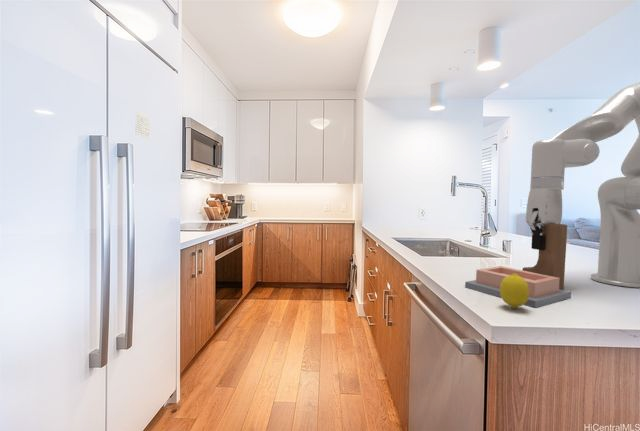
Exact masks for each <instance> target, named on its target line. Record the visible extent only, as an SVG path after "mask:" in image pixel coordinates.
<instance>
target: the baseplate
mask: <svg viewBox="0 0 640 431" xmlns="http://www.w3.org/2000/svg"><path fill="white" fill-rule="evenodd" d="M475 272H476V274H475V277H476V278H475V279H473V280H468V281H465V284H464V286H465V288H468V289H470V290H473V291H477V292H481V293H484V294H487V295H491V296H495V297H497V298H501V299H502V297H501V295H500V285H501V282H502V280H503V279H504V278H505V277H506V276H509V275H512V274H517V275H518V276H520V277H522V278H523V279H524V280H525V281H526V282H527V284H528V288H529V298H528V300H527V302H526V303H525V304H524V305H525V306H528V307H532V308H539V307H542V306H546V305H550V304H555V303H557V302H561V301H564V300H567V299H571V298H572V297H571V296H572V291H569V290H568V291H567V290H565V289H563V290H560V289H559V280H560V278H557V277H552V276H547V275H542V274H538V273H533V272H528V271H523V269H516V268H511V267H507V266H502V265H499V266H492V267H491V266H490V267H486V268H480V269H479V268H478V269H476V271H475Z"/></svg>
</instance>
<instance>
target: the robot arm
mask: <svg viewBox="0 0 640 431" xmlns="http://www.w3.org/2000/svg"><path fill="white" fill-rule="evenodd" d="M633 121H635V125H636V127H637V130H638V136H637V138H636V140H635V142H634V144H632V147H631V148H630V149H629V151H628V153H627V155H626V156H625V158H624V159H623V161H622V164H621V166H620V173H621V174H622V175H623V176H621V177H613V178H610V179H608V180H605V181H603V183H601V184H600V186H599V187H598V189H597V200H598V204H599V211H600V212H599V213H600V227H599V243H598V259H597V260H598V262H597V273H591V274H590V279H591V280H593V281H596V282H599V283H602V284H608V285H613V286H619V287H625V288H627V287H628V288H637V289H638V288H640V212H639V211H638V210H640V82H637V83H633V84H630V85H627V86H625V87H623V88H621V89H620V90H619V91H617V92H616V93H615V94H613V95H612V97H610V98H609V99H608V100H607V101H606V102H604V104H602V105H601V106H599V107H598V109H596V110H595V111H594V112H593V113H591V115H589V116H587V117H585V118H583V119H581V120H579V121H578V122H576V123H574V124H572V125H571V126H569V127H566V129H565V128H564V130H562V131H560V132H559V133H557V134H555V135H554V136H553V137H552V138H548V139H542V140H541V139H540V140H538V141H536V142H534V143H533V144H532V147H531V148H532V149H531V166H530V168H531V169H530V187H529V192H528V198H527V203H526V212H525V222H526V224H527V226H528V227H529V229H530V235H531V249H532V250H538V251H539V250H545V240H546V236H544V232H545V227H546V225H547V224H561V223H562V220H563V219H562V218H563V193H562V190H564V188H565V170H566V169H567V168H576V167H578V168H579V167H584V166H588V165H590V164H592V163H594V162H596V160H597V159H598V158H599V156H600V146H599V144H598V142H600V141H604V140H606V139H607V140H608V138H612V137H614V136H615V135H618V134H619V133H621V132H622V131H623V130H624V129H625V128H626V127H627V126H628V125H629V124H631V122H633ZM540 227H541V230H540Z"/></svg>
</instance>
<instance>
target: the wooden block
mask: <svg viewBox="0 0 640 431" xmlns="http://www.w3.org/2000/svg"><path fill="white" fill-rule="evenodd" d="M539 228H540V230H541V227H539ZM544 236H546V240H545V250H538V258H537V261H536V264H535V265H534V266H524V267H522V270H523V271H528V272H533V273H538V274H542V275H547V276H552V277H557V278H560V280H559V289H560V290H565V289H564V286H565V272H566V271H565V269H566V254H567V238H568V225H567V224H566V223H565V224H561V223H560V224H547V225H546V227H545V232H544Z"/></svg>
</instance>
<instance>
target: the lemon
mask: <svg viewBox="0 0 640 431" xmlns="http://www.w3.org/2000/svg"><path fill="white" fill-rule="evenodd" d="M500 295H501V297H502V298H501V299H502V301H503V302H504V303H505V304H507V305H508V306H510V307H511V309H517V308H519V307H521V306H523V305H524V304H525V303H526V302H527V300H528V298H529V288H528V284H527V282H526V281H525V280H524V279H523V278H522V277H520V276H518V275H517V274H512V275H509V276H506V277H505V278H504V279H503V280H502V282H501V285H500Z"/></svg>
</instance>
